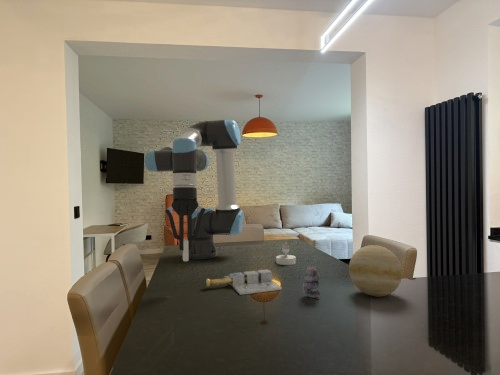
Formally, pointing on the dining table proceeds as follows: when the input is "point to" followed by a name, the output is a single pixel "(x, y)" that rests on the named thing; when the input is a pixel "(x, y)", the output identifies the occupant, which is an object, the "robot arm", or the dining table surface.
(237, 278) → the hinge leaves
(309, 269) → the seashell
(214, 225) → the robot arm
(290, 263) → the wall hook
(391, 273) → the decorative ball
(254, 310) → the dining table surface
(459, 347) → the dining table surface
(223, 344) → the dining table surface
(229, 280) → the pin
